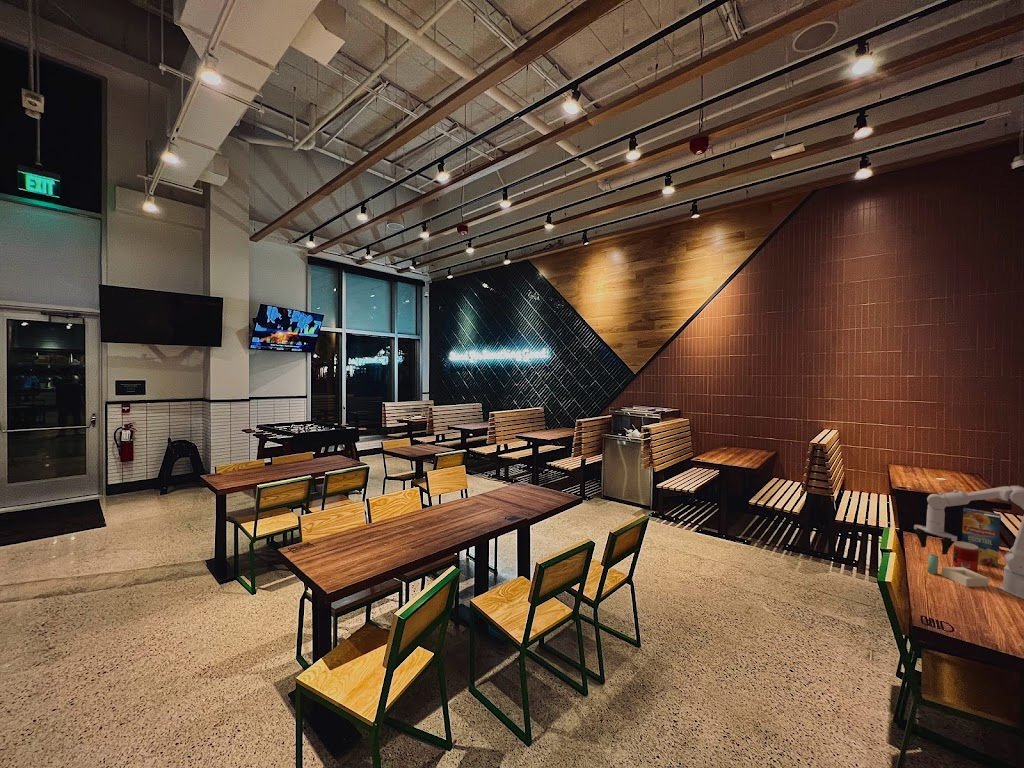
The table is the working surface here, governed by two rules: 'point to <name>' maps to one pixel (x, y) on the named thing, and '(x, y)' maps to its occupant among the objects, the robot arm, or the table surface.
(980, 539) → the juice carton
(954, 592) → the table surface
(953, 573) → the socket block
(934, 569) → the peg
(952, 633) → the table surface
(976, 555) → the canned food
